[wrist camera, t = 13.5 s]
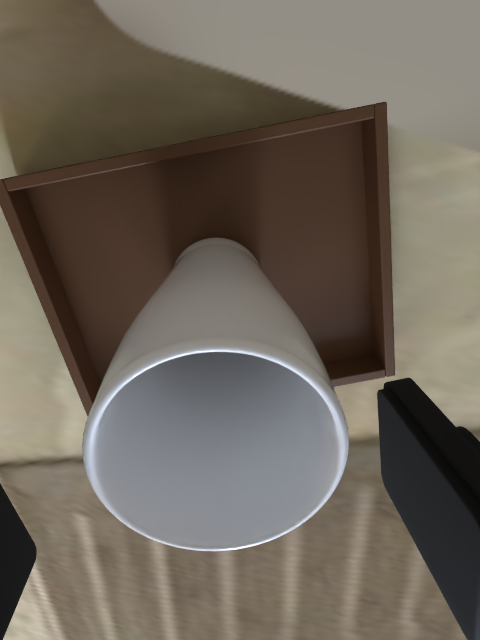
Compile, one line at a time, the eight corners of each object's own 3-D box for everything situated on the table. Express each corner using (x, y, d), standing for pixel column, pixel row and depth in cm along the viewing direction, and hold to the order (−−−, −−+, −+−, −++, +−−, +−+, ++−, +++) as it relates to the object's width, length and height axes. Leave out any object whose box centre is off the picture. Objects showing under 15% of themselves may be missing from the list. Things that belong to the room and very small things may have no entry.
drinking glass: (165, 213, 22) (78, 318, 8) (284, 232, 23) (390, 358, 9) (154, 324, 24) (74, 548, 11) (261, 338, 25) (317, 563, 11)
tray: (105, 405, 27) (93, 432, 25) (17, 177, 21) (-11, 181, 19) (378, 354, 27) (395, 375, 24) (366, 107, 21) (387, 101, 18)
